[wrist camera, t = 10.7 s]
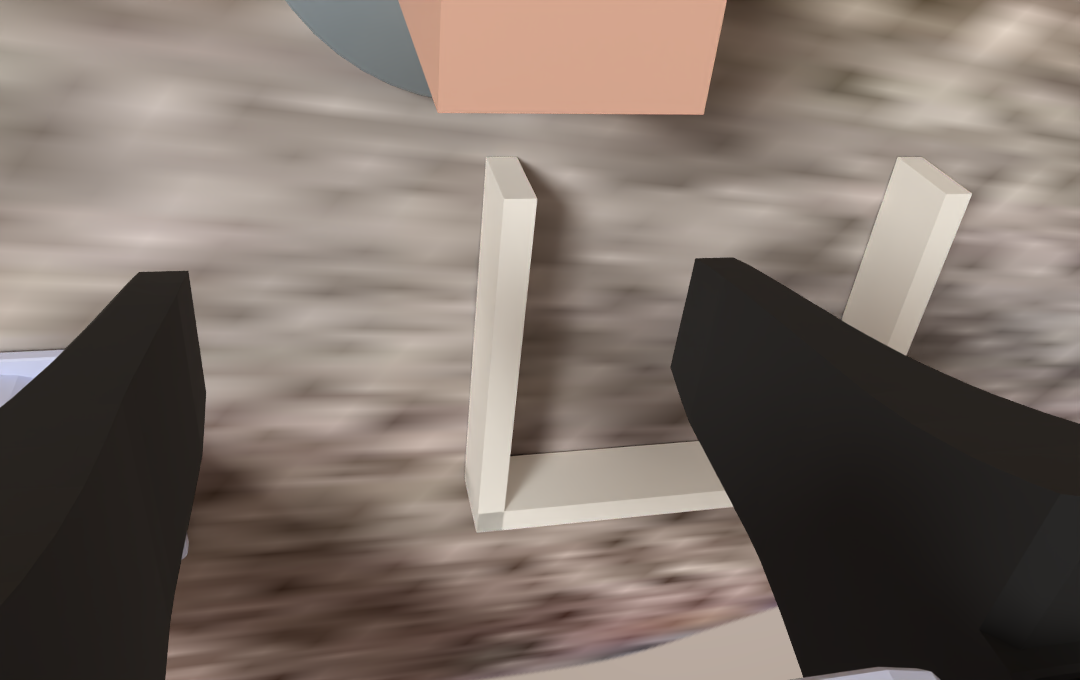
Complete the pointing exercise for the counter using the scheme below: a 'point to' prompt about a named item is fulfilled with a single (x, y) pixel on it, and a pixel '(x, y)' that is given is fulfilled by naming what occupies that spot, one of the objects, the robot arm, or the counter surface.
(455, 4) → the plain salmon-coloured rectangular block
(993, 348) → the counter surface
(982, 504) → the robot arm
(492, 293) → the shelf bay
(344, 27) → the coaster
